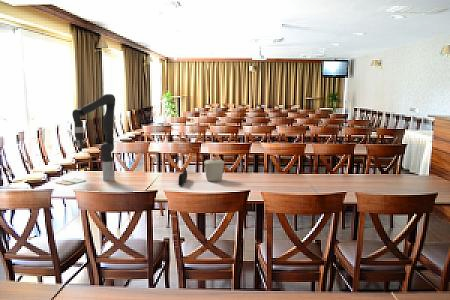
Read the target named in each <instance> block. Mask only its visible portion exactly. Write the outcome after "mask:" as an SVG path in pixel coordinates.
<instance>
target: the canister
mask: <svg viewBox="0 0 450 300" xmlns="http://www.w3.org/2000/svg"><path fill="white" fill-rule="evenodd" d="M203 163H204V169H205V171H204V172H205V178H206V180H207V181H208V182H213V183H214V182H220V181H222V179H223V174H224V167H225V166H224V164H225V163H226V162H225V161H224V160H221V159H217V157H216V156H212V158H211V159H207V160H205V161H204V162H203Z"/></svg>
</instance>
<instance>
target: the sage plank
mask: <svg viewBox="0 0 450 300" xmlns="http://www.w3.org/2000/svg"><path fill="white" fill-rule="evenodd" d="M65 181H70V182H75V183H76V184H80V183H85V182H87V180H86V179H82V178H76V177H73V178H70V179H65Z"/></svg>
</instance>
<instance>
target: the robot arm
mask: <svg viewBox="0 0 450 300" xmlns="http://www.w3.org/2000/svg"><path fill="white" fill-rule="evenodd" d="M103 106H106V107H105V108H106V109H105V113H104V116H103V119H102V130H103V133H104V136H105V137H104V138H105V139H104V143H102V144H101V145H100V158H101V162H102V165H101V167H102V181H104V182H113V181H115V177H116V175H115V169H114V158H113V156H112V153H113V152H114V150H115V143H114V133H115V131H114V130H115V106H116V96H115V95H114V94H113V93H112V94H111V93H105V94H103V95H102V96H101V97H99V98H97V99H96V100H94V101H92V102H90V103H87V104H86V105H83V106H82V107H81V108H77V109H76V108H75V109H73V111H72V116H71V117H72V119H73V122H74V138H75V140H73V143H74V144H75V146H76V147H77V149H78V152H82V151H83V147H85V144H86V140H84V137H85V133H84V122H83V120H82V119H81V118H82V117H85V116H86V115H87V114H89V113H92V112H94V111H95V110H97V109H99V108H101V107H103Z"/></svg>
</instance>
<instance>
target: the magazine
mask: <svg viewBox="0 0 450 300" xmlns="http://www.w3.org/2000/svg"><path fill="white" fill-rule="evenodd" d="M187 179H188V170H187V167H184V168H183V170H182V172H181V173H179V176H178V184H177V185H178V186H183V185H185V184H186V181H187Z"/></svg>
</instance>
